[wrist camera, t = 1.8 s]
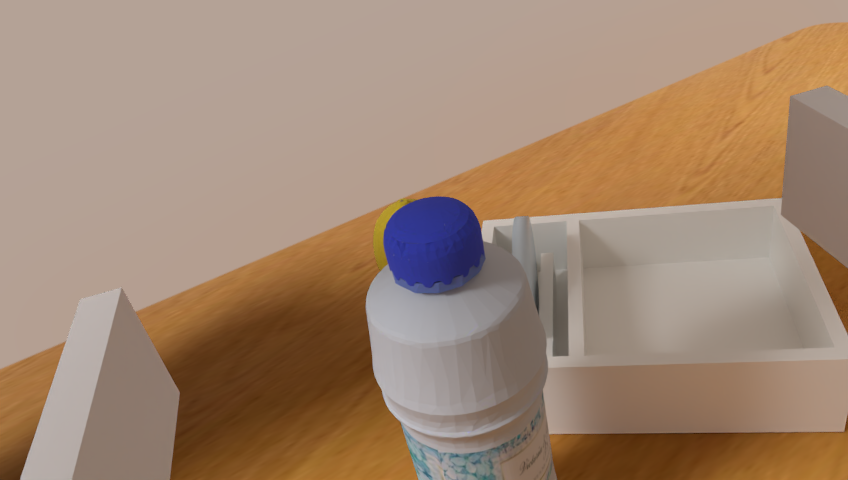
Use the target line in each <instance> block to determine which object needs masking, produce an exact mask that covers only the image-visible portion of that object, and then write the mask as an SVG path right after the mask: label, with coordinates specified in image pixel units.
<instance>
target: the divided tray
mask: <svg viewBox="0 0 848 480" xmlns="http://www.w3.org/2000/svg"><path fill="white" fill-rule="evenodd" d="M781 205H782V198H775V199H762V200H749V201H736V202H723V203H709V204H696V205H683V206H670V207H657V208H644V209H631V210H618V211H605V212H592V213H579V214H565V215H552V216H539V217H528V216H521V217H515V218H513V219H500V220H487V221H483V226H482V239H483V241H484V242H488V243H492V244H494V245H497V246H499V247H502V248H503V249H505V250H506V251H508V252H510V253H511V254H512V255H513V256H514V257H515V258H516V259H517V260H518V261H519V262H520V263H521V265H522V267H523V269H524V271H525V273H526V276H527V279H528V282H529V285H530V289H531V292H532V295H533V298H534V302H535V305H536V308H537V311H538V314H539V317H540V320H541V322H542V324H543V327H544V330H545V333H546V340H547V347H546V355H547V360H548V374H547V379H546V383H545V386H544V388H543V396H544V402H545V409H546V416H547V423H548V430H549V434H623V433H749V432H844V430H845V425H846V420H847V415H848V334H847V332H846V330H845V328H844V326H843V323H842V321H841V319H840V317H839V315H838V313H837V310H836V308H835V306H834V304H833V302H832V299H831V297H830V295H829V293H828V291H827V289H826V286H825V284H824V282H823V280H822V278H821V276H820V273H819V271H818V269H817V267H816V265H815V262H814V260H813V258H812V256H811V254H810V252H809V249H808V247H807V245H806V243H805V241H804V238H803V236H802V234H801V232H800V230H799V229H798V228H797V227H795V226H794V225H793V224H792V223H790V222H789V221H788V220H787V219H785V218H784V217H783V216H782V215H781Z"/></svg>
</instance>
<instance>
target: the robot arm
mask: <svg viewBox="0 0 848 480" xmlns="http://www.w3.org/2000/svg"><path fill="white" fill-rule="evenodd" d="M781 215H782V216H783V217H784V218H785V219H787V220H788V221H789V222H790V223H792V224H793V225H794V226H795V227H797V228H798V229H799V230H800V231H802V232H803V233H804V234H805V235H807V236H808V237H809V238H810V239H812V240H813V241H814V242H815V243H817V244H818V245H819V246H820V247H822V248H823V249H824V250H825V251H827V252H828V253H829V254H830V255H832V256H833V257H834V258H835V259H837V260H838V261H839V262H841V263H842V264H843V265H844V266H846V267H847V268H848V96H846V95H844V94H842V93H841V92H839V91H837V90H835V89H833V88H831V87H829V86H824V87H821V88H817V89H814V90H810V91H807V92H803V93H800V94H796V95H793V96H790V106H789V119H788V131H787V143H786V155H785V168H784V180H783V192H782V205H781ZM179 396H180V392H179V390H178V388H177V386H176V385H175V383H174V381H173V379H172V377H171V376H170V374H169V372H168V370H167V368H166V367H165V365H164V363H163V361H162V359H161V358H160V356H159V354H158V352H157V350H156V349H155V347H154V345H153V343H152V341H151V340H150V338H149V336H148V334H147V332H146V331H145V329H144V327H143V325H142V323H141V321H140V320H139V318H138V316H137V314H136V312H135V311H134V309H133V307H132V305H131V303H130V302H129V300H128V298H127V296H126V294H125V293H124V291H123V289H122V288H118V289H115V290H111V291H108V292H104V293H101V294H97V295H94V296H90V297H87V298H83V299H80V302H79V305H78V308H77V311H76V314H75V317H74V320H73V323H72V326H71V328H70V332H69V334H68V337H67V340H66V343H65V346H64V349H63V352H62V355H61V358H60V361H59V364H58V367H57V370H56V373H55V376H54V379H53V382H52V385H51V388H50V391H49V394H48V397H47V400H46V403H45V406H44V409H43V412H42V415H41V418H40V421H39V424H38V427H37V430H36V433H35V436H34V439H33V442H32V445H31V448H30V451H29V454H28V457H27V460H26V463H25V466H24V469H23V472H22V475H21V478H20V480H170V473H171V465H172V456H173V448H174V439H175V431H176V422H177V414H178V405H179Z"/></svg>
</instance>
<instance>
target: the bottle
mask: <svg viewBox="0 0 848 480" xmlns="http://www.w3.org/2000/svg"><path fill="white" fill-rule="evenodd" d="M383 244H384V251H385V254H386V258H387V262H388V264H387V265H386V266H385V267H384V268H383V269H382V270H381V271H380V272H379V273H378V274H377V276H376V277H375V279H374V280H373V281H372V283H371V285H370V288H369V290H368V293H367V297H366V314H367V321H368V328H369V335H370V342H371V350H372V360H373V371H374V375H375V378H376V380H377V382H378V385H379V386H380V388H381V389H382V394H383V398H384V400H385V403H386V405H387V407H388V408H389V410H390V411H391V412H392V414H393V415H394V416H395V417H396V418H397V419H398V420H399V421H400V422H401V425H402V428H403V432H404V435H405V438H406V441H407V444H408V448H409V451H410V454H411V457H412V460H413V463H414V467H415V470H416V473H417V476H418V479H419V480H557V477H556V473H555V469H554V465H553V460H552V451H551V444H550V437H549V430H548V423H547V416H546V409H545V402H544V396H543V388H544V386H545V383H546V379H547V374H548V360H547V355H546V347H547V340H546V333H545V330H544V327H543V324H542V322H541V320H540V317H539V314H538V311H537V308H536V305H535V302H534V298H533V295H532V292H531V289H530V285H529V282H528V279H527V276H526V273H525V271H524V269H523V267H522V265H521V263H520V262H519V261H518V260H517V259H516V258H515V257H514V256H513V255H512V254H511V253H510V252H508V251H506V250H505V249H503V248H502V247H499V246H497V245H494V244H492V243H488V242H484V241H483V239H482V233H481V228H480V224H479V222H478V219H477V218H476V216H475V214H474V212H473V211H472V210H471V209H470V208H469V207H468V206H467V205H466V204H464V203H463V202H461V201H459V200H457V199H454V198H449V197H429V198H423V199H420V200H416V201H413V202H411V203H408V204H407V205H405V206H403V207H401V208H400V209H399V210H397V211H396V212H395V213H394V214H393V215H392V216H391V218H390V219H389V221H388V223H387V224H386V228H385V230H384V238H383Z"/></svg>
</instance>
